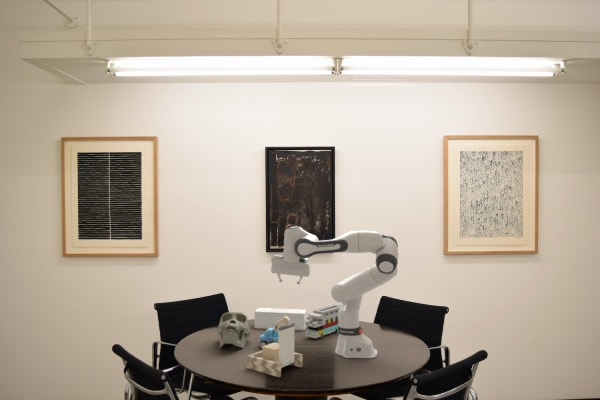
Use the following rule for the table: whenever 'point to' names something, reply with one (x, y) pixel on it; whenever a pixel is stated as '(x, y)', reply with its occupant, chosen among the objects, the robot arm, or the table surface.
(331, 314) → the toy vehicle
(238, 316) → the skull
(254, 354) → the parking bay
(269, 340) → the toy excavator
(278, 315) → the long white block
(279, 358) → the trolley
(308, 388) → the table surface
